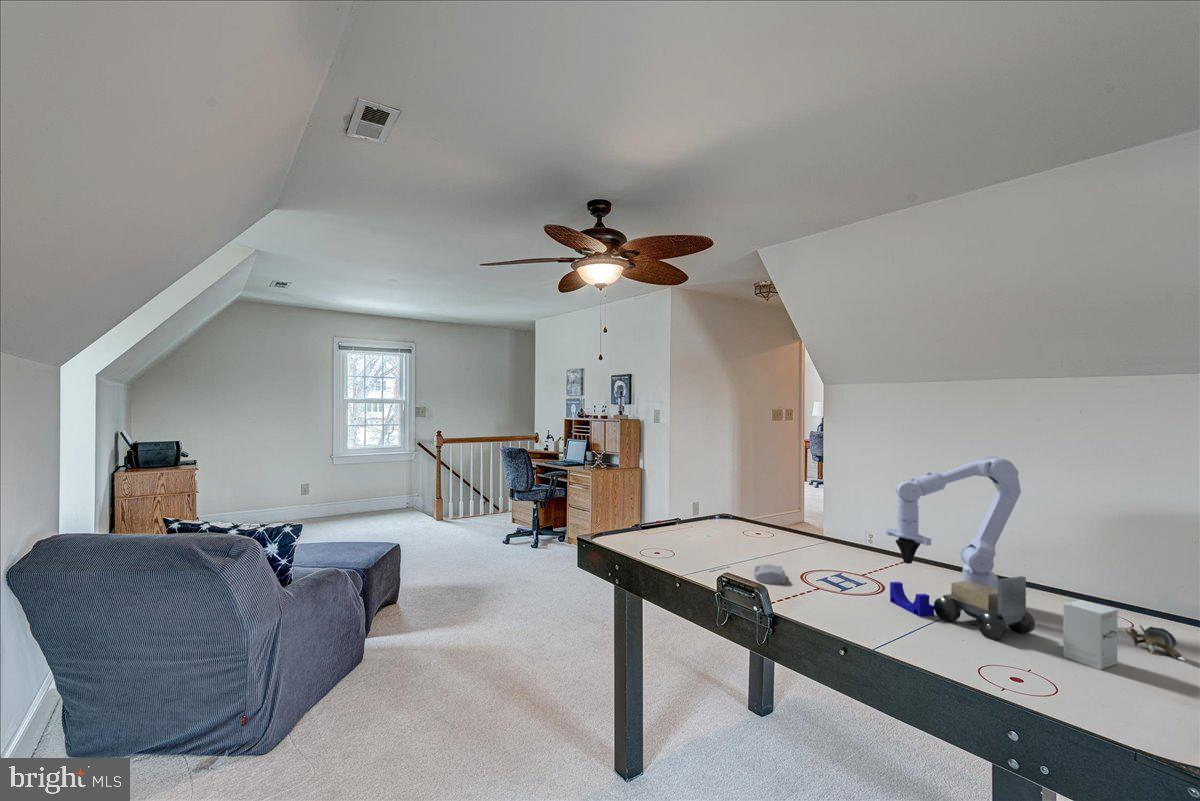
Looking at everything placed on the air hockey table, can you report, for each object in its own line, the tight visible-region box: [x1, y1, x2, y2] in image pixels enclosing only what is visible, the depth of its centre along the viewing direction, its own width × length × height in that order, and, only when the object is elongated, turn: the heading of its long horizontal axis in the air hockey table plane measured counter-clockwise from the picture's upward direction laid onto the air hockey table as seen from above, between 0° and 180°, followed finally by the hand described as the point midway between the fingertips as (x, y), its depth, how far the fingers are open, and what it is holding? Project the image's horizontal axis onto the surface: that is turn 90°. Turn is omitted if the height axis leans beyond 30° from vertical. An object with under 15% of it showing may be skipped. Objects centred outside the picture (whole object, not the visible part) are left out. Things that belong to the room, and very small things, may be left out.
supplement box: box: [1062, 599, 1119, 671], centre depth 124 cm, size 7×7×13 cm
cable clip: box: [889, 581, 935, 618], centre depth 156 cm, size 12×4×6 cm, turn 9°
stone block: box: [753, 564, 786, 585], centre depth 182 cm, size 12×5×10 cm
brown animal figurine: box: [1124, 624, 1182, 659], centre depth 129 cm, size 8×7×9 cm
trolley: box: [933, 575, 1036, 640], centre depth 143 cm, size 13×18×15 cm
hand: (907, 562), depth 169 cm, fingers closed
